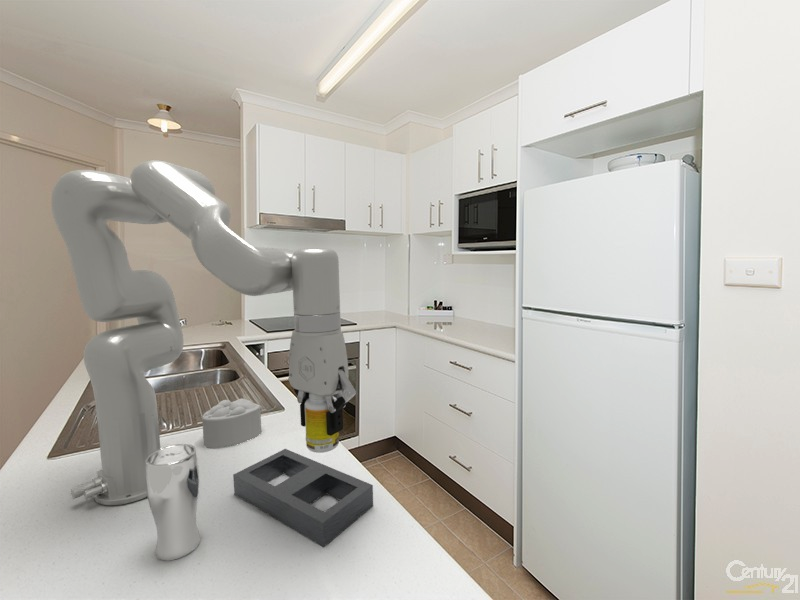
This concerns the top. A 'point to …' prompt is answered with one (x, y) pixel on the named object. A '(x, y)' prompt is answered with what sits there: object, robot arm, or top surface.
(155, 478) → the beer glass
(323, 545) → the cinder block
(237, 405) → the lumpy-topped squat cylinder
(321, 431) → the supplement bottle
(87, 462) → the top surface
